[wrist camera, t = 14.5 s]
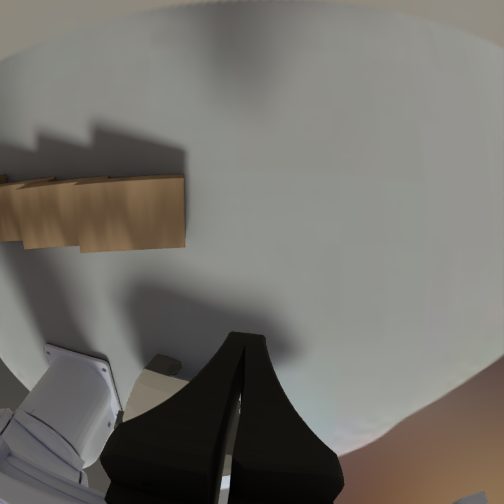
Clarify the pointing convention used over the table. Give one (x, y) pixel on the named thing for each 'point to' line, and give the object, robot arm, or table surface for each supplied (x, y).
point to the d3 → (13, 209)
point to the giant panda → (165, 397)
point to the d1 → (130, 213)
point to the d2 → (48, 213)
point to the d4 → (3, 179)
